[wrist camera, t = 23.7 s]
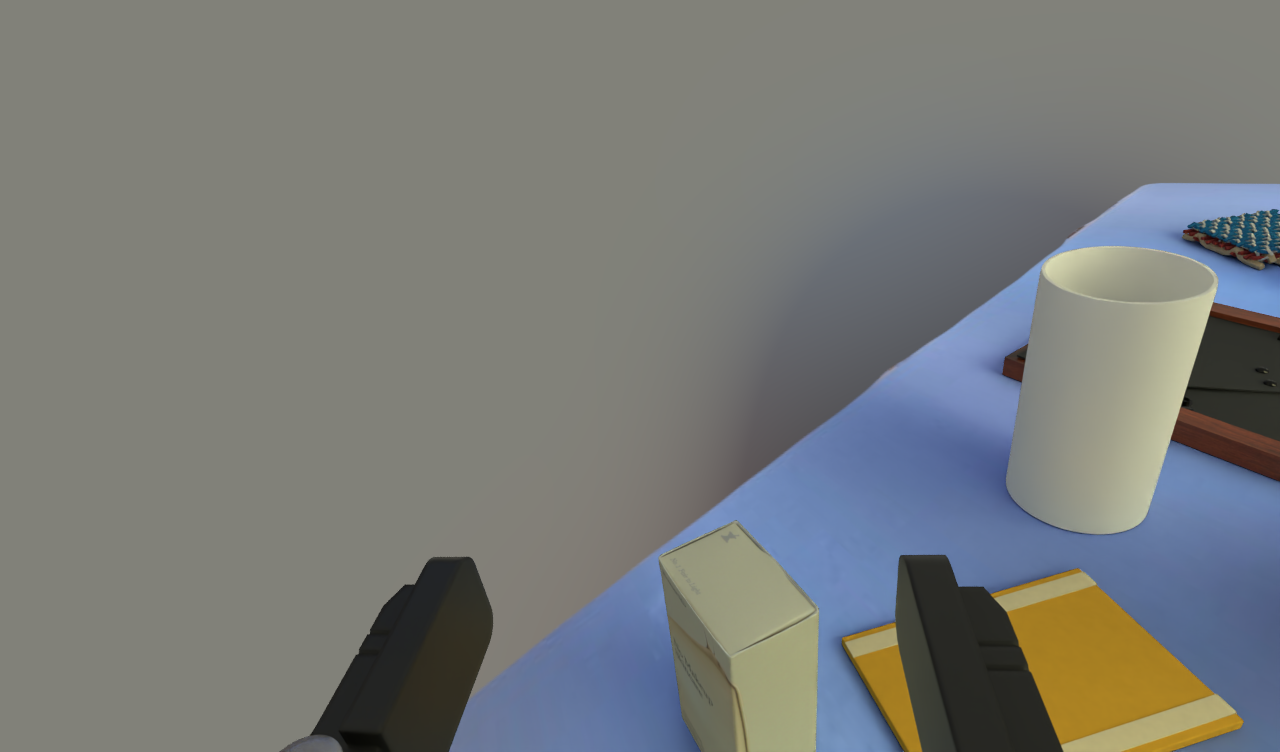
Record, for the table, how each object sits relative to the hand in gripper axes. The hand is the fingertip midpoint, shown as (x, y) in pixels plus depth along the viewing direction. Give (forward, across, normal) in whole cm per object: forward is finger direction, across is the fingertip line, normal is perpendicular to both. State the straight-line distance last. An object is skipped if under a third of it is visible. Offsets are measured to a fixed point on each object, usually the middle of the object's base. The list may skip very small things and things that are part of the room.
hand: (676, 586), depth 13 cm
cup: (+30, -22, +24) cm, 44 cm away
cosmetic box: (+11, 0, +24) cm, 27 cm away
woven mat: (+68, -55, +24) cm, 91 cm away
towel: (+15, -14, +24) cm, 32 cm away
